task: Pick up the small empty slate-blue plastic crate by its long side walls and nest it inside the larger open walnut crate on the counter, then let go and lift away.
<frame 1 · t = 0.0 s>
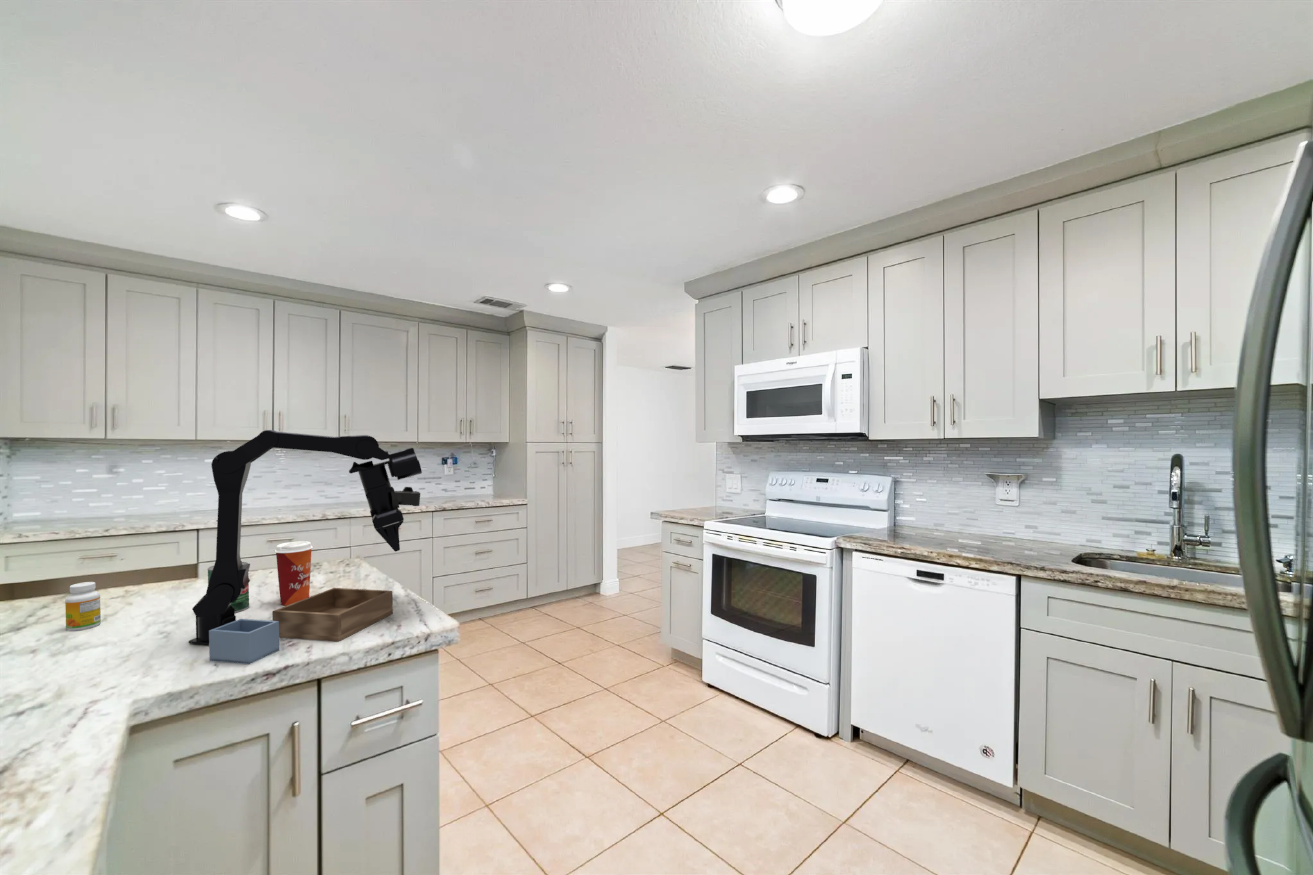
hand: (396, 547, 130), 15 cm above the countertop, tool pointing down, fingers open, 9 cm apart
canned tomato: (229, 610, 132), on the countertop
supplement bottle: (83, 627, 121), on the countertop
coffee cup: (295, 602, 138), on the countertop
small crate: (245, 656, 105), on the countertop
big crate: (336, 624, 121), on the countertop
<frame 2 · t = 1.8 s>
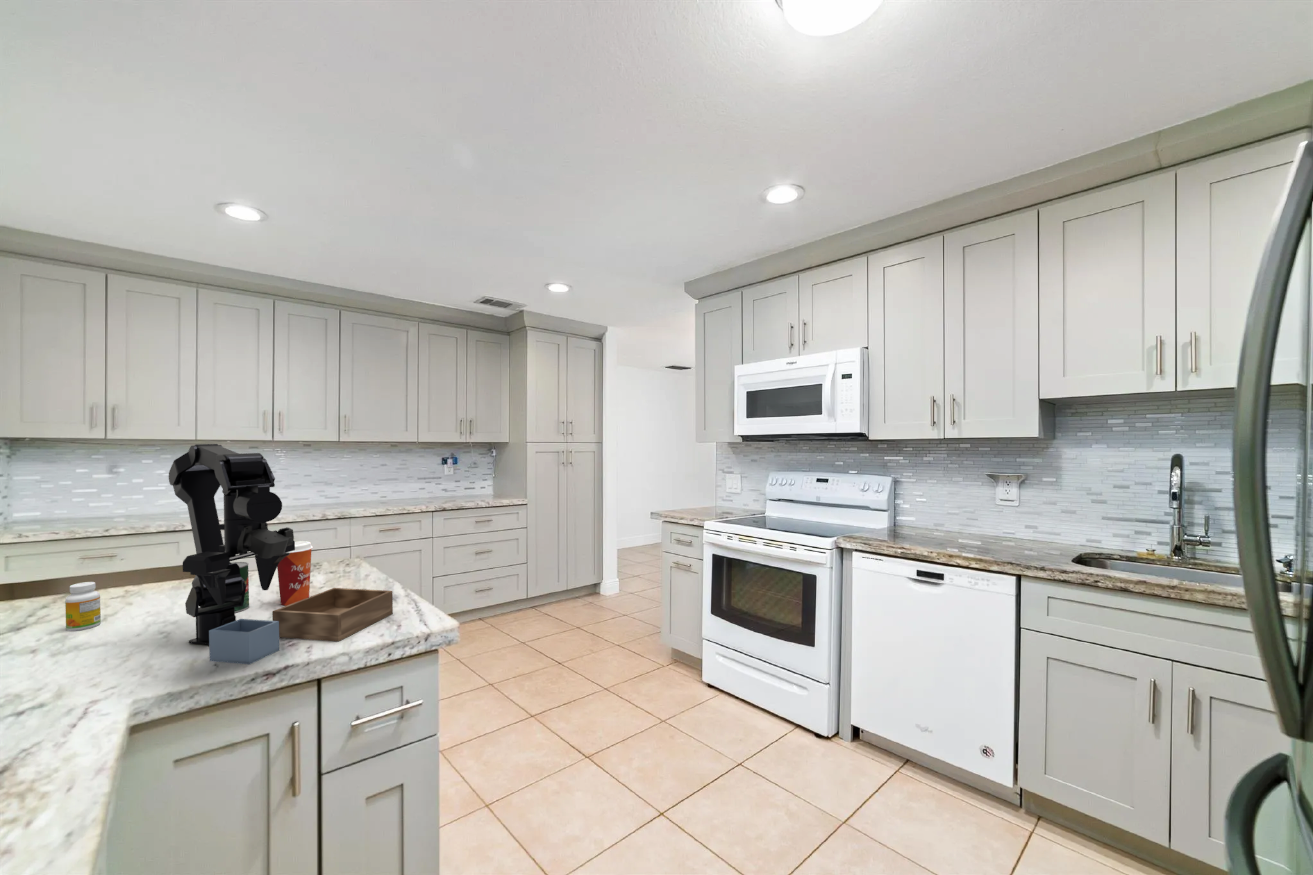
hand: (244, 597, 105), 11 cm above the countertop, tool pointing down, fingers open, 9 cm apart
nothing on the countertop moved.
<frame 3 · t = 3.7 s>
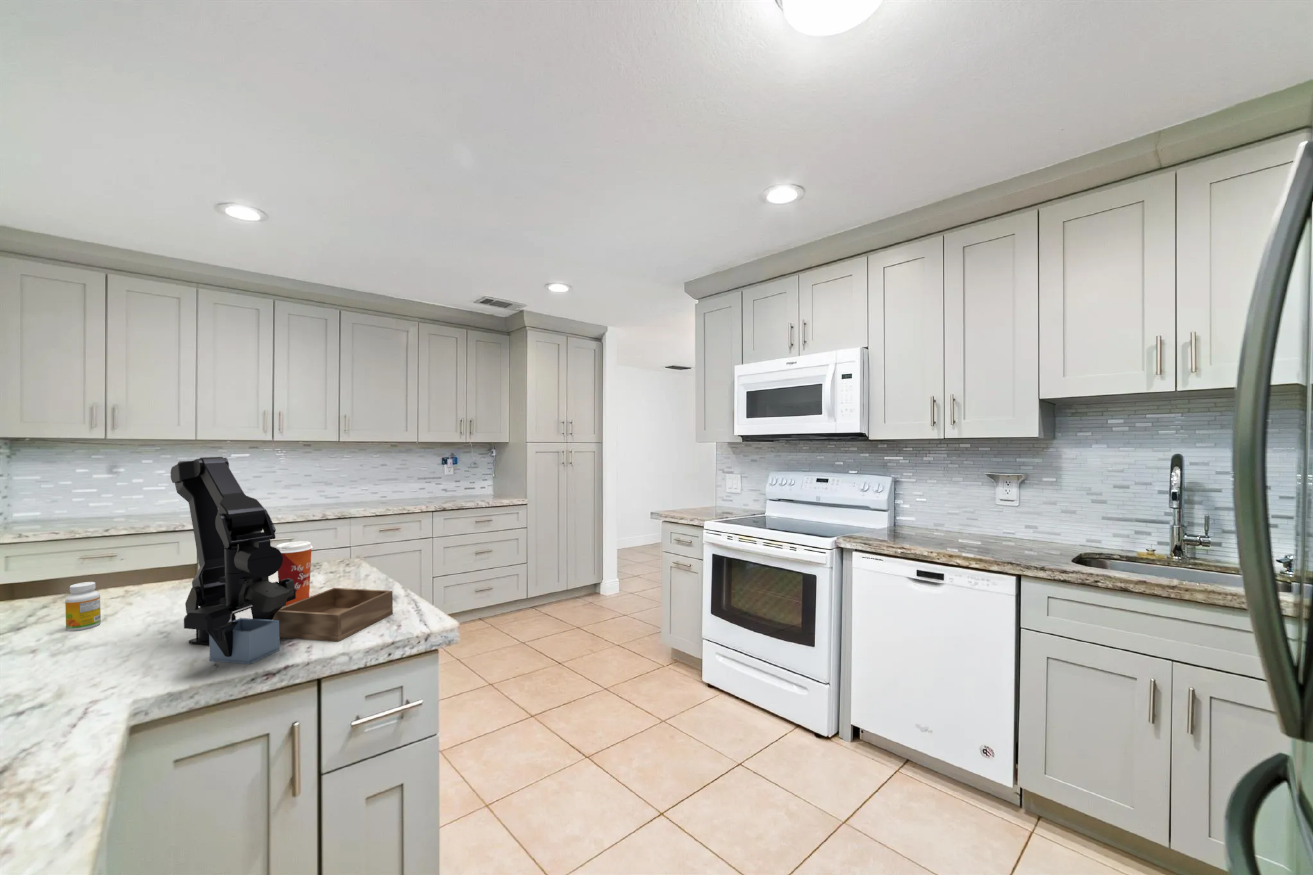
hand: (245, 649, 105), 1 cm above the countertop, tool pointing down, fingers closed on small crate, 6 cm apart
small crate: (245, 655, 105), on the countertop, touching gripper
everything else where it was.
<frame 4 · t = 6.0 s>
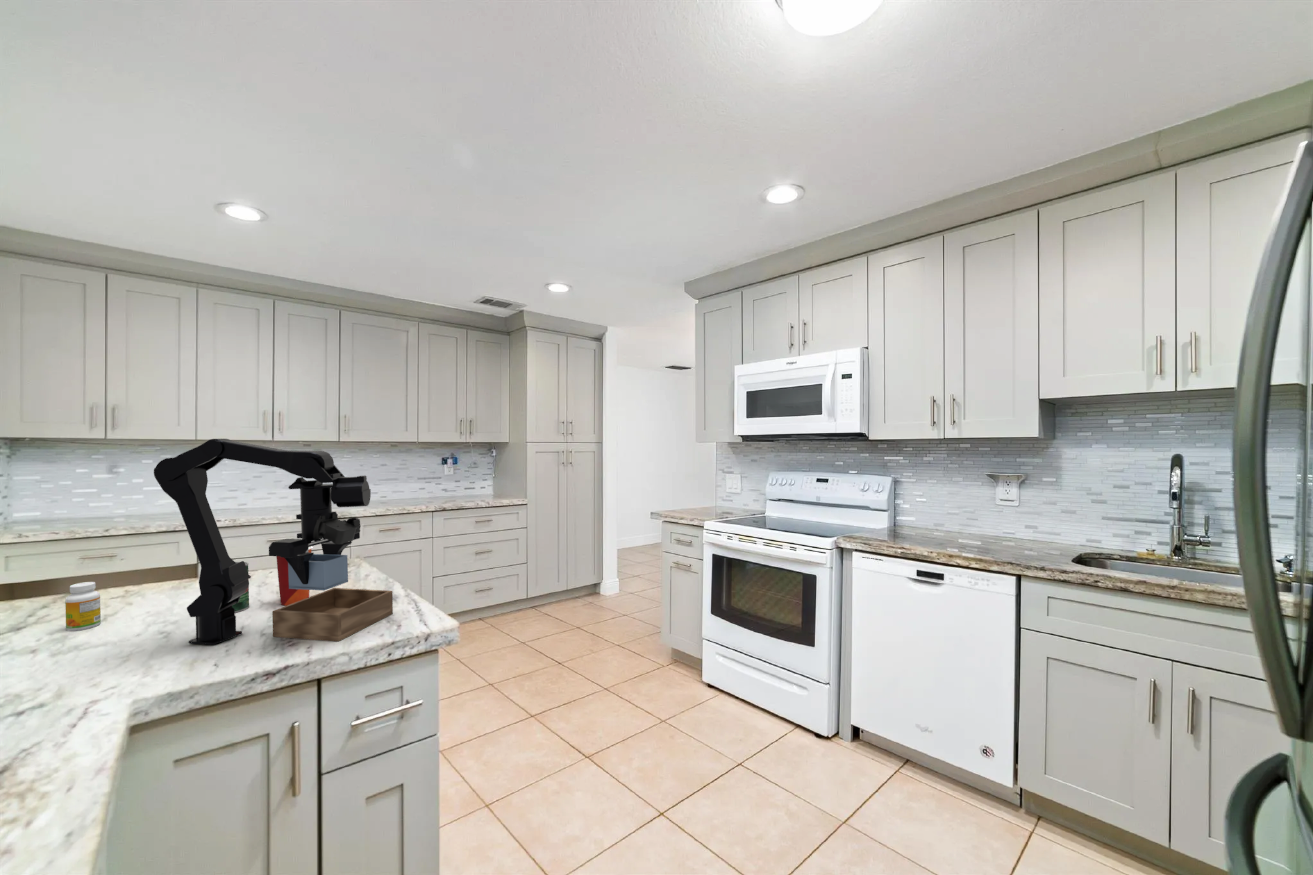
hand: (318, 579, 118), 11 cm above the countertop, tool pointing down, fingers closed on small crate, 6 cm apart
small crate: (319, 585, 118), point 10 cm above the countertop, touching gripper
everything else where it was.
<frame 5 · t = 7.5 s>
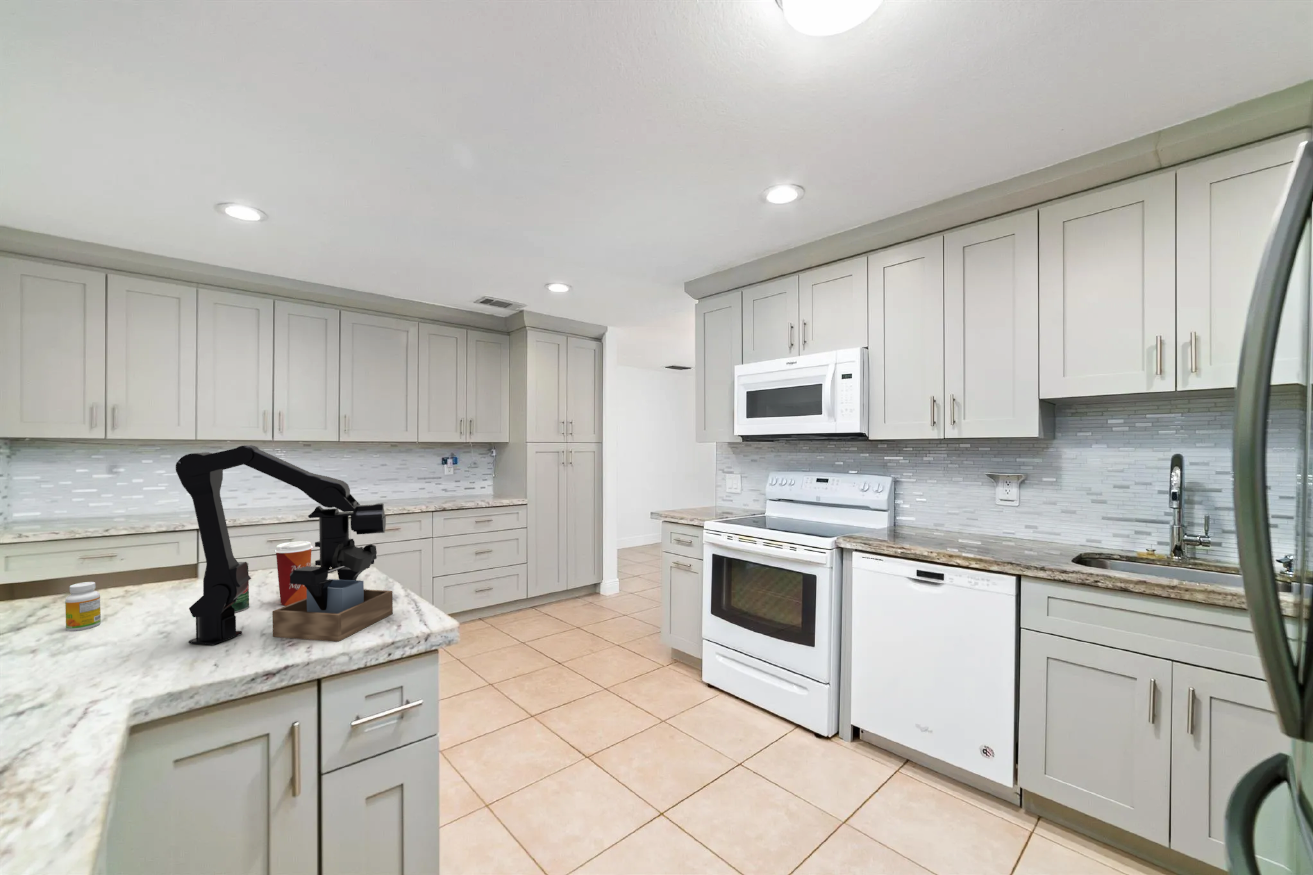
hand: (335, 604, 121), 4 cm above the countertop, tool pointing down, fingers closed on small crate, 6 cm apart
small crate: (335, 610, 121), point 3 cm above the countertop, touching gripper
everything else where it was.
when the fingers open (3 cm above the countertop, at t = 8.6 s): small crate drops 1 cm, resting on big crate.
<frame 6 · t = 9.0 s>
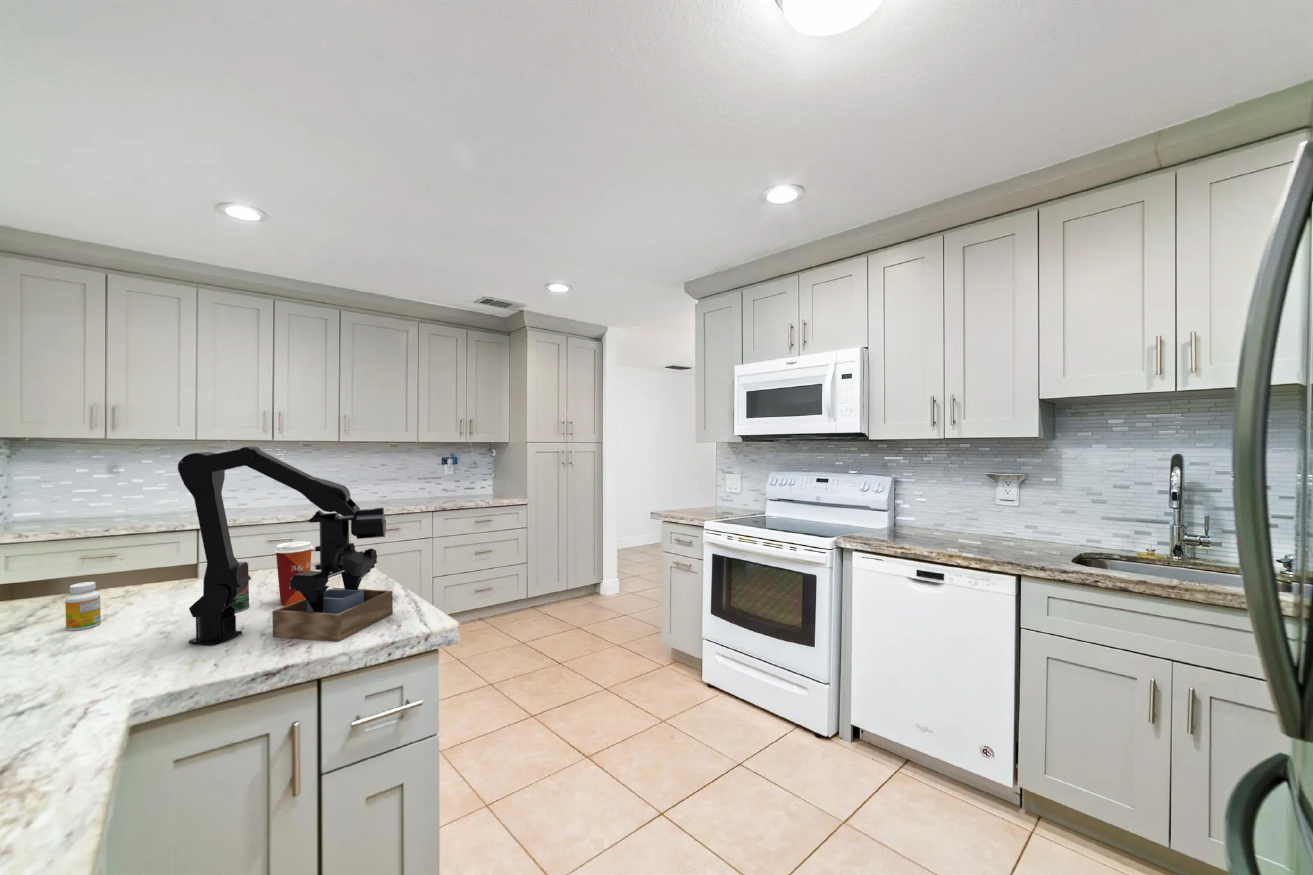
hand: (335, 609, 121), 3 cm above the countertop, tool pointing down, fingers open, 9 cm apart
small crate: (336, 620, 121), point 1 cm above the countertop, touching big crate
everything else where it was.
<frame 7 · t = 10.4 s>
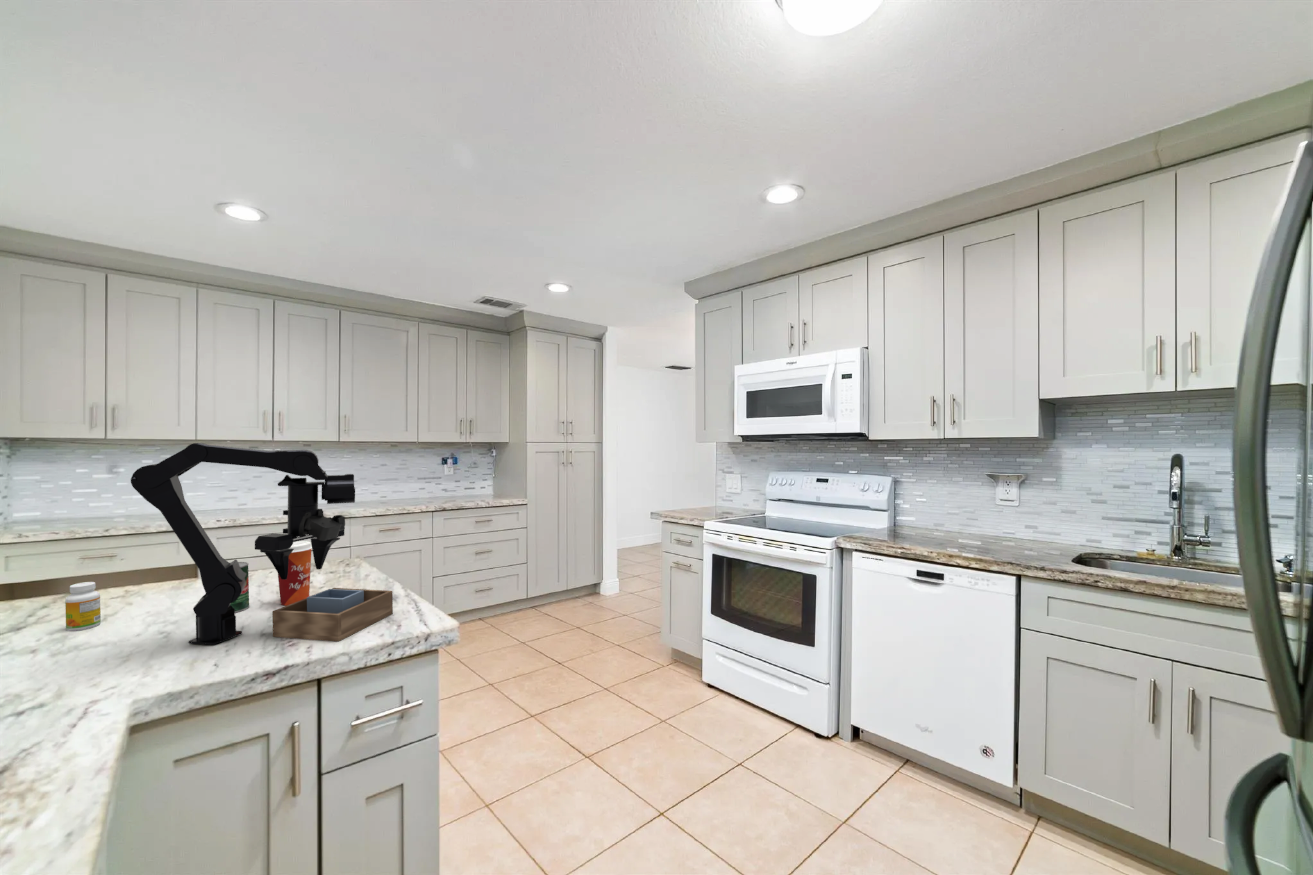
hand: (302, 574, 121), 11 cm above the countertop, tool pointing down, fingers open, 9 cm apart
nothing on the countertop moved.
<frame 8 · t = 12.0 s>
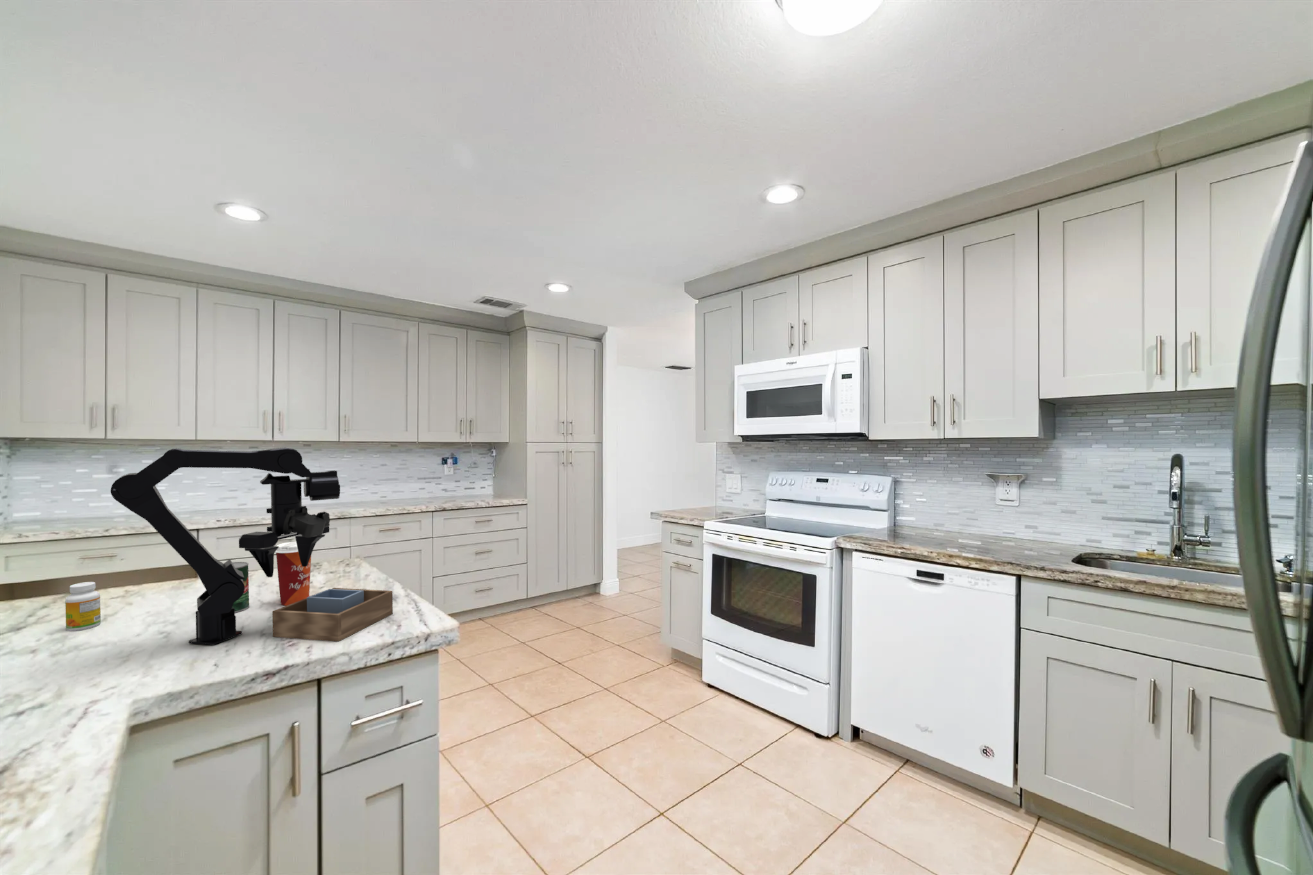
hand: (287, 571, 122), 12 cm above the countertop, tool pointing down, fingers open, 9 cm apart
nothing on the countertop moved.
at the end: small crate inside the target area on the big crate (0.1 cm from its centre), point 1.0 cm above the big crate's base; small crate tilted 0°; the gripper is holding nothing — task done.
